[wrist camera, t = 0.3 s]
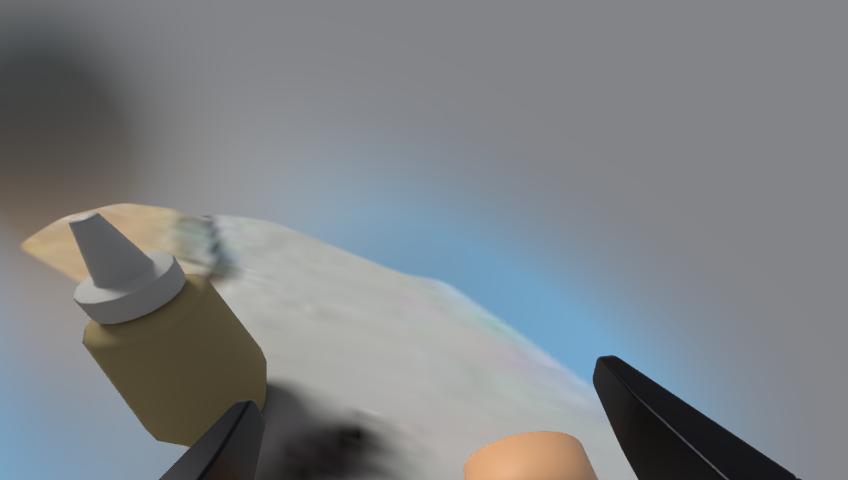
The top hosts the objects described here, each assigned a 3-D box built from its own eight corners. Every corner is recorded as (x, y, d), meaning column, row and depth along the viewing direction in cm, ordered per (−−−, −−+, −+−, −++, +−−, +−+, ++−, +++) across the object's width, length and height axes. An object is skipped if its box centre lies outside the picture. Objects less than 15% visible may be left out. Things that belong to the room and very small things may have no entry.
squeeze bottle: (286, 431, 24) (164, 230, 14) (162, 492, 21) (-97, 295, 12) (276, 353, 30) (185, 174, 20) (178, 392, 28) (18, 208, 18)
